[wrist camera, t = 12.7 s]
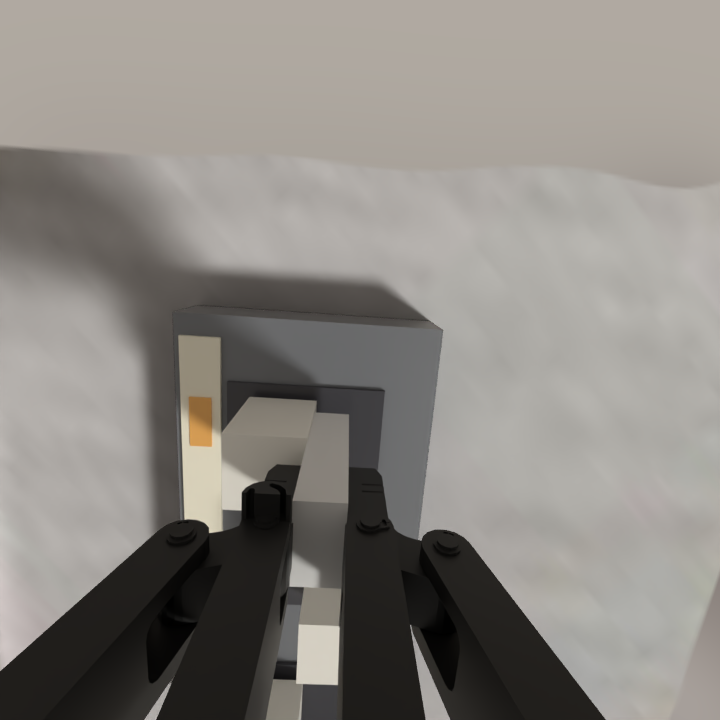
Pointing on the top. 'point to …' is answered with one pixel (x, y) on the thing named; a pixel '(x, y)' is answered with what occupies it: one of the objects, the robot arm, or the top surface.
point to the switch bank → (333, 395)
